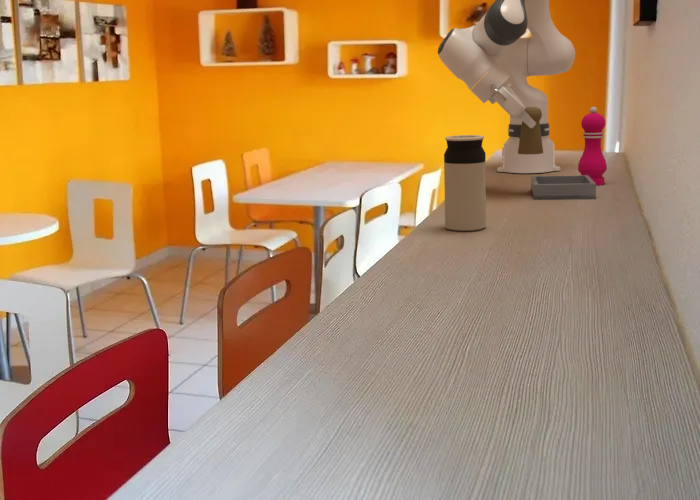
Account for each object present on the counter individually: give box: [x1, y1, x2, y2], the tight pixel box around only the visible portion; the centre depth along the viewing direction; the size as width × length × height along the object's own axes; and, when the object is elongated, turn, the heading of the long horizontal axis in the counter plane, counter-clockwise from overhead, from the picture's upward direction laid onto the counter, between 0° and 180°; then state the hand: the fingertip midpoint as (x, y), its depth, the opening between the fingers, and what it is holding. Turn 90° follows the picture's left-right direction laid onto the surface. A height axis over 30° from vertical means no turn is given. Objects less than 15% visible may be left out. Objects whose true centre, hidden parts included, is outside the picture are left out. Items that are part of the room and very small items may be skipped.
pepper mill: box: [577, 106, 608, 187], centre depth 211 cm, size 7×7×20 cm
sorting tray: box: [530, 174, 597, 201], centre depth 198 cm, size 16×14×4 cm
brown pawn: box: [518, 107, 543, 154], centre depth 196 cm, size 6×6×11 cm
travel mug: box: [443, 134, 487, 232], centre depth 159 cm, size 8×8×18 cm
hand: (533, 125), depth 195 cm, fingers closed on brown pawn, 5 cm apart
